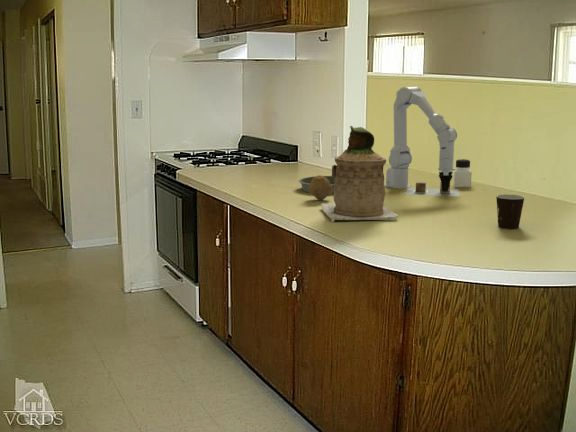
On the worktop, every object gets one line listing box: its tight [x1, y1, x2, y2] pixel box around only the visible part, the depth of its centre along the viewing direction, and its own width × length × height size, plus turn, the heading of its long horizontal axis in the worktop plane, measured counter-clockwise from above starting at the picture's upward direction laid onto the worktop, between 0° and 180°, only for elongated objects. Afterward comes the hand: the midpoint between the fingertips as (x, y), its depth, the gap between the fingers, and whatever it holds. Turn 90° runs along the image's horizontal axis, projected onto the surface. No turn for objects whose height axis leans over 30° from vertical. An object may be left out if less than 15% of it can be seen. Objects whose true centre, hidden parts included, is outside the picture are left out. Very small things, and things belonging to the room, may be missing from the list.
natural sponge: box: [309, 174, 332, 201], centre depth 258 cm, size 9×9×10 cm
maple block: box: [439, 181, 451, 193], centre depth 270 cm, size 4×4×4 cm
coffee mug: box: [495, 193, 525, 230], centre depth 208 cm, size 12×9×10 cm
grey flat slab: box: [405, 187, 461, 197], centre depth 272 cm, size 22×16×1 cm
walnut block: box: [415, 181, 427, 193], centre depth 272 cm, size 4×4×4 cm
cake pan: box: [298, 175, 334, 195], centre depth 283 cm, size 25×25×4 cm
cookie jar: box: [321, 125, 399, 223], centre depth 229 cm, size 25×25×32 cm
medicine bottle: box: [453, 158, 472, 188], centre depth 286 cm, size 7×7×12 cm
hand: (445, 190), depth 270 cm, fingers open, 6 cm apart
